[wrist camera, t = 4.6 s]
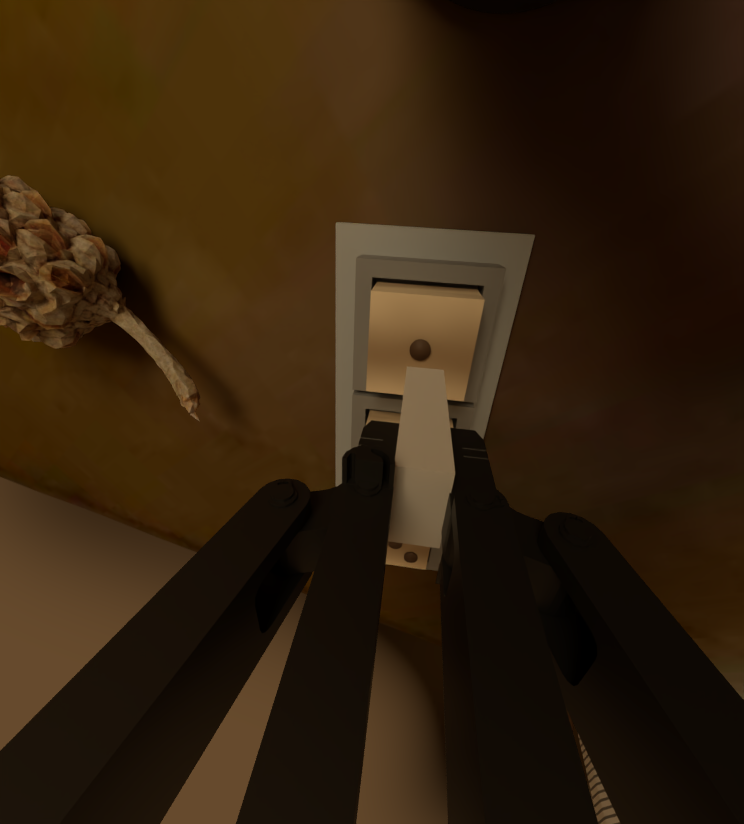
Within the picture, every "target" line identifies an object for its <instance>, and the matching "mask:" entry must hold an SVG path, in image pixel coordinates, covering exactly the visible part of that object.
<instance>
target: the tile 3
mask: <svg viewBox="0 0 744 824" xmlns="http://www.w3.org/2000/svg"><path fill="white" fill-rule="evenodd" d="M429 550H430V547H425V546H418V545H411V544H404V543H397V542H390V541H388V546H387V556H386V564H390V565H396V566H403V567H410V568H416V569H423V570H426V565H427V560H428V555H429Z"/></svg>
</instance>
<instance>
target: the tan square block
mask: <svg viewBox="0 0 744 824" xmlns="http://www.w3.org/2000/svg"><path fill="white" fill-rule="evenodd" d="M484 301H485V300H484V298H483V297H482V295H481V294H480V293H479V291H478V290H477V289H465V288H452V287H439V286H426V285H413V284H400V283H387V282H377V283H376V284H375V286H374V287H373V289H372V290H371V299H370V319H369V340H368V360H367V381H366V391H370V392H380V393H389V394H398V395H403V393H404V385H405V377H406V370H407V366H408V367H419V368H429V369H440V370H444V376H445V385H446V394H447V400H455V401H464V398H465V393H466V388H467V383H468V378H469V374H470V369H471V364H472V359H473V354H474V349H475V345H476V340H477V335H478V330H479V325H480V320H481V316H482V311H483V306H484Z"/></svg>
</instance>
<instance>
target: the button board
mask: <svg viewBox="0 0 744 824" xmlns="http://www.w3.org/2000/svg"><path fill="white" fill-rule="evenodd" d="M534 238H535V235H532V234H519V233H503V232H487V231H471V230H456V229H440V228H424V227H408V226H392V225H376V224H360V223H344V222H336V487H337V486H338V485H340V484H342V457H343V455H344V454H345V452H346V451H348V450H350V449H351V448H353V447H357V446H358V444H359V440H360V438H361V434H362V430H363V427H364V426H366V423H367V419H368V416H369V412H370V410H376V411H385V412H394V413H401V408H402V401H403V395H398V394H389V393H380V392H370V391H366V381H367V360H368V340H369V319H370V299H371V290H372V289H373V287H374V286H375V284H376V283H377V282H387V283H400V284H413V285H426V286H439V287H452V288H465V289H477V290H478V291H479V293H480V294H481V295H482V297H483V298H484V300H485V301H484V306H483V311H482V316H481V320H480V325H479V330H478V335H477V340H476V345H475V349H474V354H473V359H472V364H471V369H470V374H469V378H468V383H467V388H466V393H465V398H464V401H455V400H447V403H448V412H449V419H452V421H453V428H457V429H466V430H475V431H476V432H477V433H478V434H479V435H480V436H481V437H482V439H484V435H485V431H486V427H487V423H488V419H489V415H490V411H491V407H492V403H493V399H494V395H495V391H496V387H497V383H498V380H499V376H500V372H501V368H502V364H503V360H504V356H505V352H506V348H507V344H508V340H509V336H510V332H511V328H512V324H513V321H514V317H515V313H516V309H517V305H518V301H519V297H520V293H521V289H522V285H523V281H524V277H525V273H526V269H527V265H528V261H529V258H530V254H531V250H532V246H533V242H534ZM441 556H442V539H441V544H440V548H432V547H430V550H429V555H428V560H427V565H426V569H428V570H435V571H438V567H439V563H440V560H441Z"/></svg>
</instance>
